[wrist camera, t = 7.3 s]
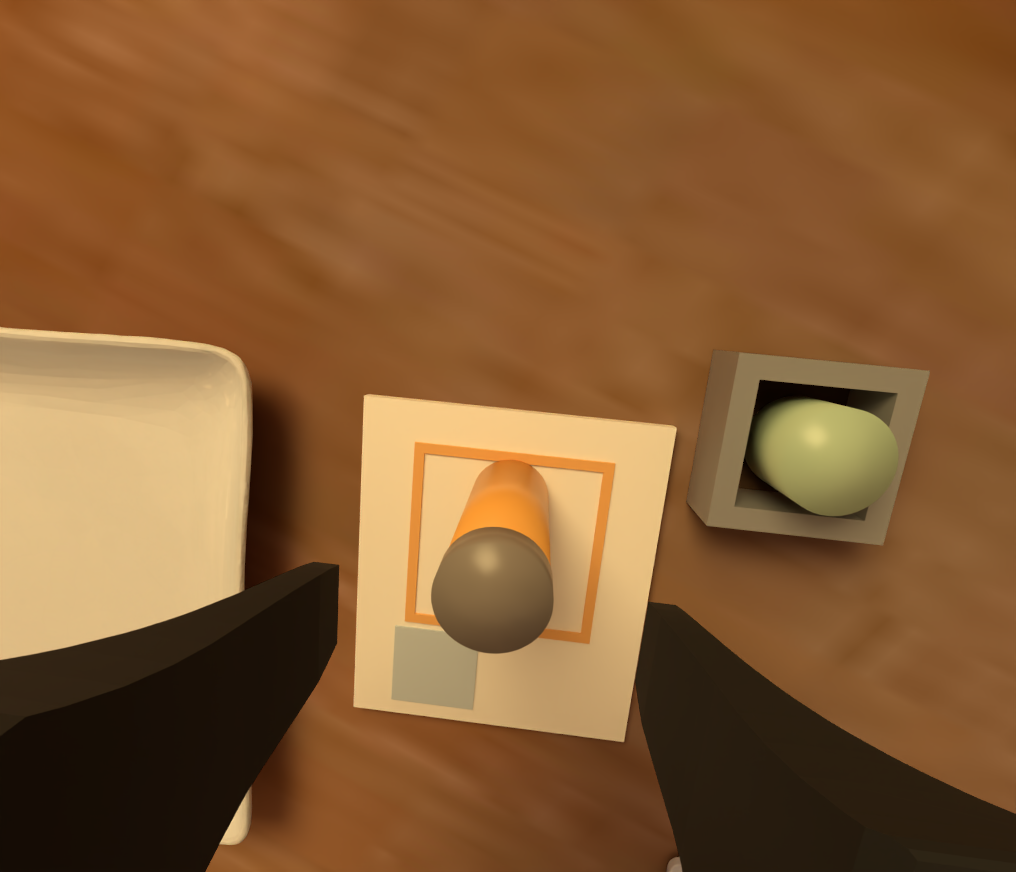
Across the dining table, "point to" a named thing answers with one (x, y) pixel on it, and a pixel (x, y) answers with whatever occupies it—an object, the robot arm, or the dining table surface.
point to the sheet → (573, 557)
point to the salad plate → (119, 488)
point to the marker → (498, 563)
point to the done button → (822, 454)
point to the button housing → (728, 429)
